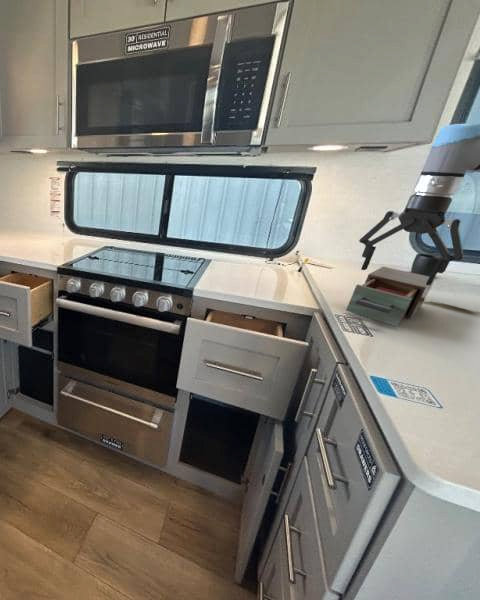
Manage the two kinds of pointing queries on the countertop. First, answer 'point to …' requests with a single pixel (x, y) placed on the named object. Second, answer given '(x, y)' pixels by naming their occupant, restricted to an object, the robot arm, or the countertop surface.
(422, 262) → the mug
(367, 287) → the drawer
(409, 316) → the cabinet
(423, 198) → the robot arm
